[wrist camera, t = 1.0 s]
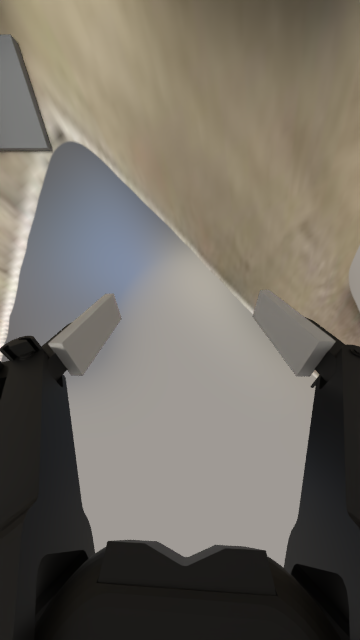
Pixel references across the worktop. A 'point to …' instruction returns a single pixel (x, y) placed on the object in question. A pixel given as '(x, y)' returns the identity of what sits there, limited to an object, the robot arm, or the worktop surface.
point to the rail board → (18, 103)
